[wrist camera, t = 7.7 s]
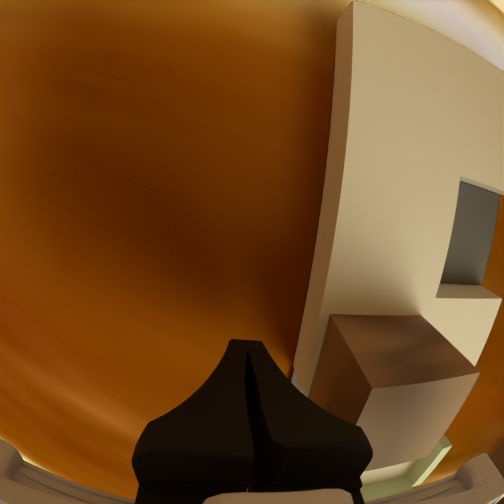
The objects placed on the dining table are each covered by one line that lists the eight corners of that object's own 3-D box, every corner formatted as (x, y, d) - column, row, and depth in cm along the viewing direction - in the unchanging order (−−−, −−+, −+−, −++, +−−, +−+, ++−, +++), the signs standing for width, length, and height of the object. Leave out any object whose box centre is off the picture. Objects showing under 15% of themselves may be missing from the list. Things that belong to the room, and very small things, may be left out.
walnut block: (421, 315, 13) (480, 372, 8) (390, 393, 14) (427, 456, 9) (329, 313, 12) (372, 388, 8) (306, 398, 14) (328, 476, 9)
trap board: (509, 97, 12) (557, 92, 7) (400, 461, 20) (416, 496, 16) (317, 17, 11) (346, -32, 7) (252, 477, 19) (254, 523, 15)
